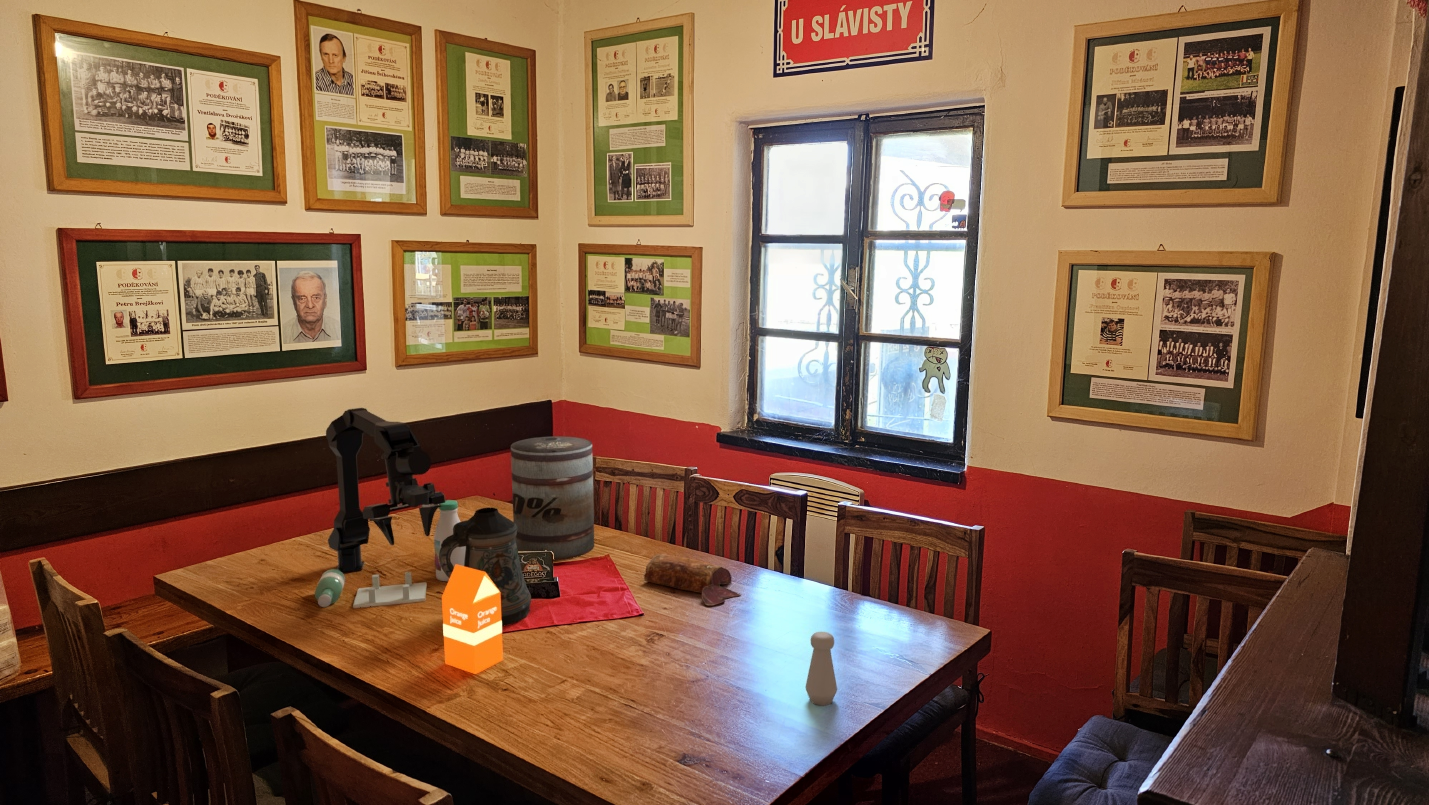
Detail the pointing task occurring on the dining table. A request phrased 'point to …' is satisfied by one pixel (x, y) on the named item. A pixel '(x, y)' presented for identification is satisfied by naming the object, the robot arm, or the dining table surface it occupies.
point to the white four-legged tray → (390, 593)
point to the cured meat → (690, 577)
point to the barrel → (553, 495)
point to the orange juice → (471, 620)
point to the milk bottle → (443, 531)
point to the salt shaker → (821, 670)
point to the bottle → (329, 587)
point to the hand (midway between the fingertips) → (410, 540)
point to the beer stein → (491, 558)
